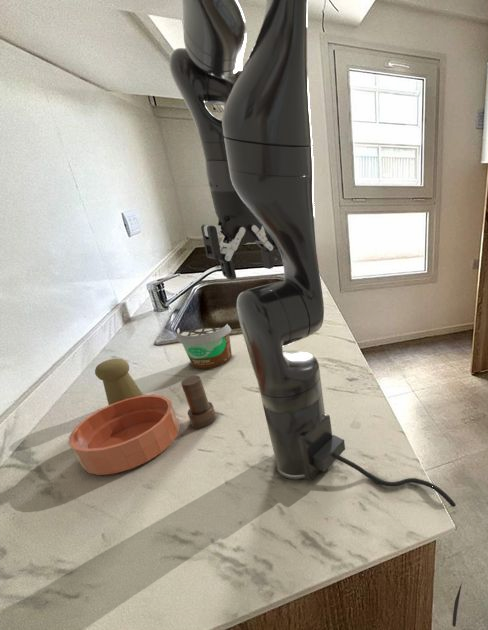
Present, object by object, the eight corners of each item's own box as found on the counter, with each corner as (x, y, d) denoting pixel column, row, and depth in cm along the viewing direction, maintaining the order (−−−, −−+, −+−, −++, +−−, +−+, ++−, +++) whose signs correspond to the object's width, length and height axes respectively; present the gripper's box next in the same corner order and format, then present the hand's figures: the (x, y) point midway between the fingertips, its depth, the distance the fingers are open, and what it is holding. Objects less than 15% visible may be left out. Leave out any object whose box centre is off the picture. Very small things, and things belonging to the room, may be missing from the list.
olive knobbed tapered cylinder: (104, 408, 71) (83, 365, 66) (137, 392, 76) (119, 351, 71) (118, 418, 68) (97, 373, 64) (151, 401, 73) (134, 359, 68)
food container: (178, 374, 82) (165, 339, 78) (186, 361, 88) (175, 328, 83) (232, 368, 85) (223, 334, 81) (237, 355, 91) (229, 323, 86)
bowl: (196, 433, 65) (187, 409, 62) (106, 490, 53) (92, 464, 51) (156, 409, 71) (147, 386, 68) (68, 456, 59) (53, 431, 57)
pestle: (221, 417, 69) (209, 377, 65) (199, 430, 65) (185, 390, 61) (208, 410, 71) (195, 371, 67) (186, 423, 67) (172, 382, 63)
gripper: (207, 191, 53) (230, 286, 60) (279, 187, 64) (291, 267, 71) (180, 189, 56) (205, 279, 63) (253, 185, 68) (267, 262, 74)
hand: (251, 273), depth 67 cm, fingers open, 8 cm apart
